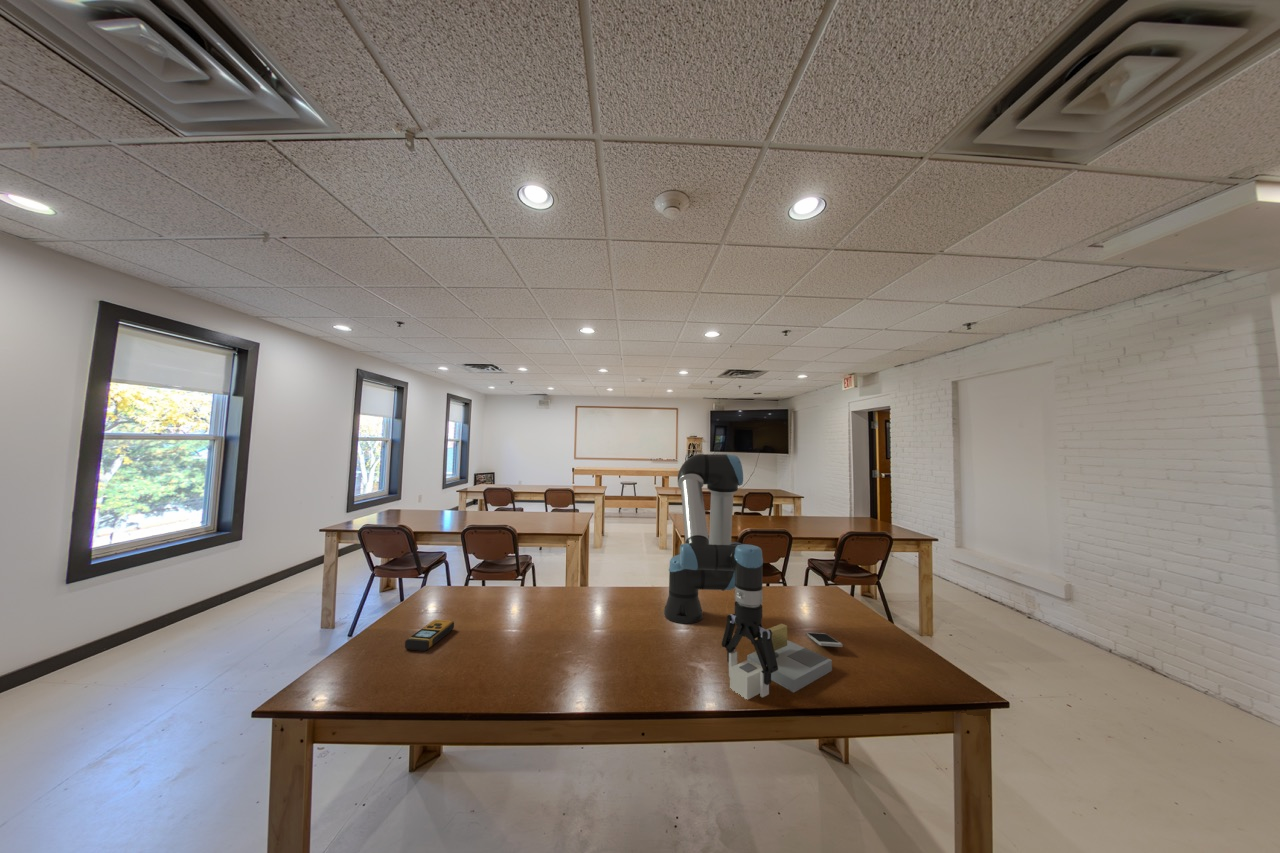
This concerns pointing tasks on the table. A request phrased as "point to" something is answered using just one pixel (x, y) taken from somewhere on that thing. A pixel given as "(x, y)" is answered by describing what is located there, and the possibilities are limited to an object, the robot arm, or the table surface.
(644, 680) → the table surface
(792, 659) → the housing
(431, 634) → the electronic device
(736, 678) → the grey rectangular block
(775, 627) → the yellow rectangular block
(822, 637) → the smartphone
